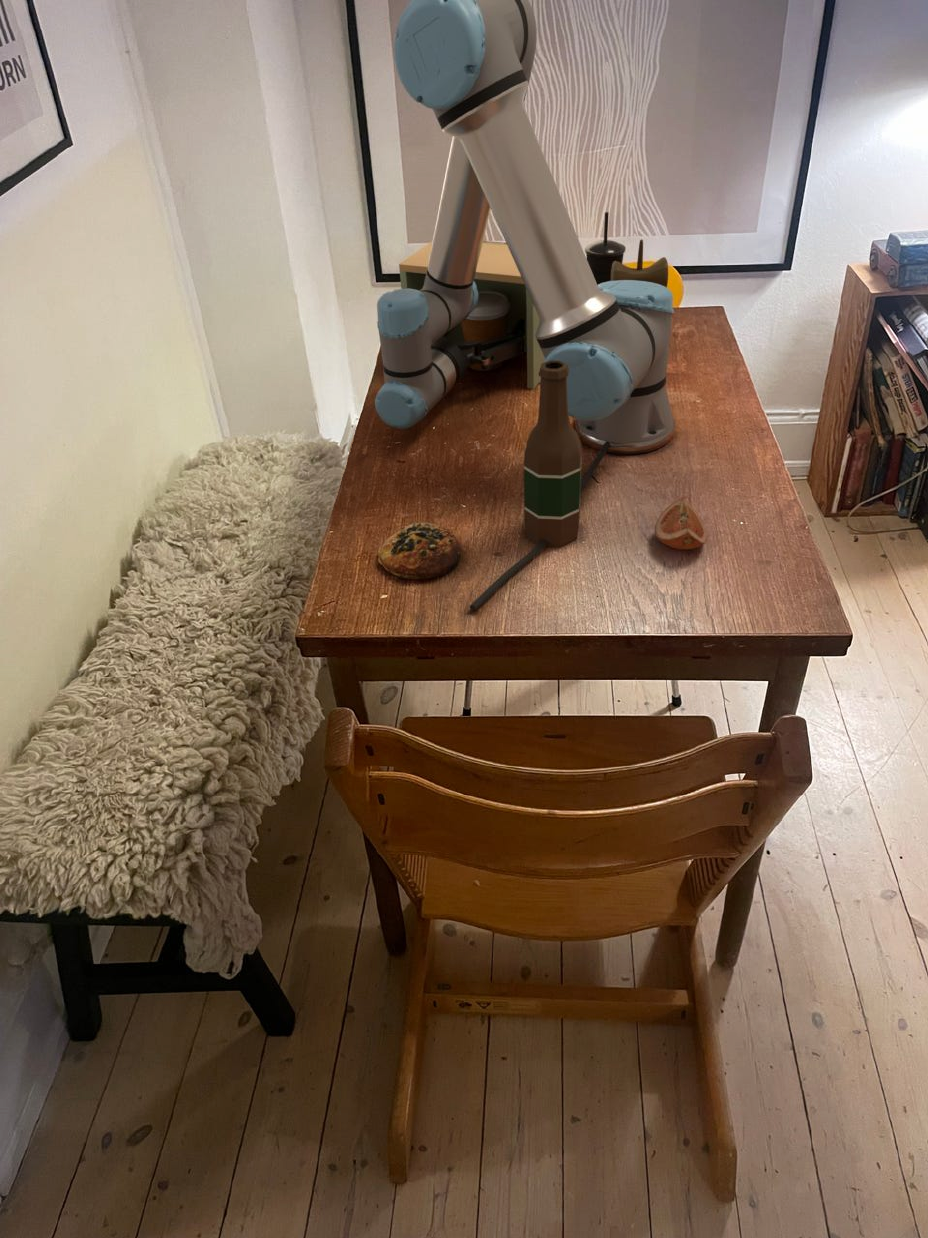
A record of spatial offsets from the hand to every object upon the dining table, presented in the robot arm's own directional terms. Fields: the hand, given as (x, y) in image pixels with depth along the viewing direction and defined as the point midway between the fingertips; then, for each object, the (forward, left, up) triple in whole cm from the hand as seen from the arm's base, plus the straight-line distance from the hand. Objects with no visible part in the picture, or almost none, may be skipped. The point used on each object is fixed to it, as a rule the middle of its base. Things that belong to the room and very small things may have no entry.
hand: (487, 322), depth 164 cm
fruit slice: (-54, -39, -7) cm, 67 cm away
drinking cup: (+22, -18, -7) cm, 29 cm away
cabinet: (-2, 0, -7) cm, 7 cm away
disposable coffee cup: (-2, 0, -7) cm, 8 cm away
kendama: (+7, -26, -7) cm, 28 cm away
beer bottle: (-54, -22, -7) cm, 59 cm away
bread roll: (-63, -6, -7) cm, 64 cm away
